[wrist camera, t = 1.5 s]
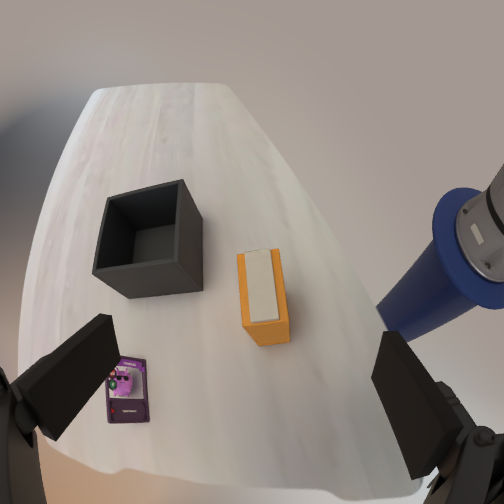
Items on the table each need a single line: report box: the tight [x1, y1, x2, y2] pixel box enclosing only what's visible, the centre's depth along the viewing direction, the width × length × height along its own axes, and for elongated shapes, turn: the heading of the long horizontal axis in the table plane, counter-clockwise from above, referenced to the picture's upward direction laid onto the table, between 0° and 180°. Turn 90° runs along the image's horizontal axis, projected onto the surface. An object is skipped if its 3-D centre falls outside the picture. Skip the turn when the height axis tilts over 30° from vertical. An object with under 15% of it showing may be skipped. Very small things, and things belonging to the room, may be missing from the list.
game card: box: [105, 356, 149, 423], centre depth 31 cm, size 7×5×9 cm
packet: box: [237, 249, 290, 346], centre depth 30 cm, size 4×7×13 cm, turn 5°
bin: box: [92, 179, 203, 299], centre depth 38 cm, size 12×12×10 cm
